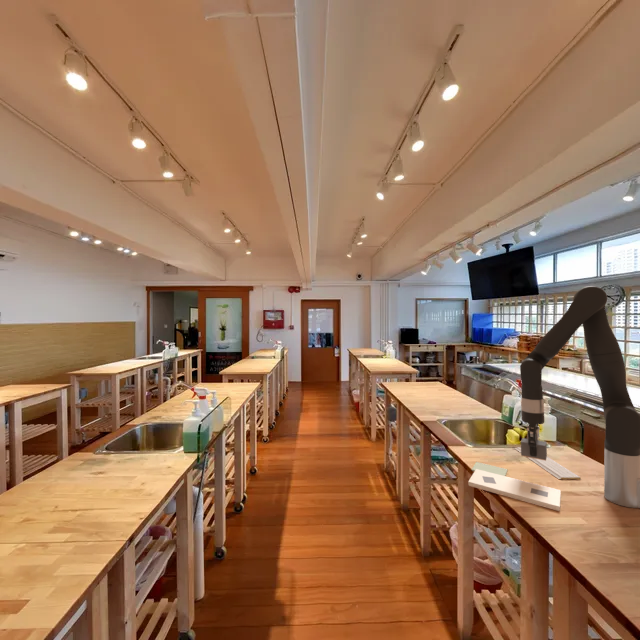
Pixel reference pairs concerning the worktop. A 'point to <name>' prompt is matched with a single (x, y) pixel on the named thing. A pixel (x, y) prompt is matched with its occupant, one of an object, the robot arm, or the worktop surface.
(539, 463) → the baseboard
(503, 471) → the rest mat
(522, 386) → the robot arm
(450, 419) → the worktop surface
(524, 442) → the block
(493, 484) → the board
